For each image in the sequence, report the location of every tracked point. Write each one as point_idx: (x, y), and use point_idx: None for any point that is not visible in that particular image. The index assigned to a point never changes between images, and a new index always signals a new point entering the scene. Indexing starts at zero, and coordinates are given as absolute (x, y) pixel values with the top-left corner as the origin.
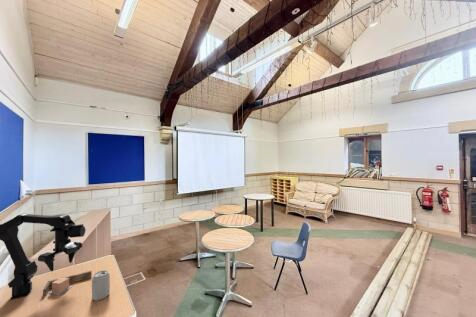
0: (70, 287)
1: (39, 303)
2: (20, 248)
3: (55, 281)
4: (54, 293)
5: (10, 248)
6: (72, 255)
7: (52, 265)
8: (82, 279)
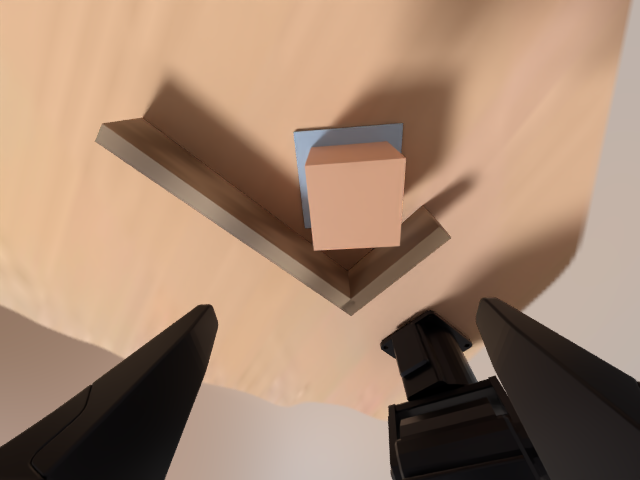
0: (307, 133)
1: (504, 152)
2: None
3: (379, 235)
4: None
5: None
6: (98, 423)
7: (612, 385)
8: (199, 161)
